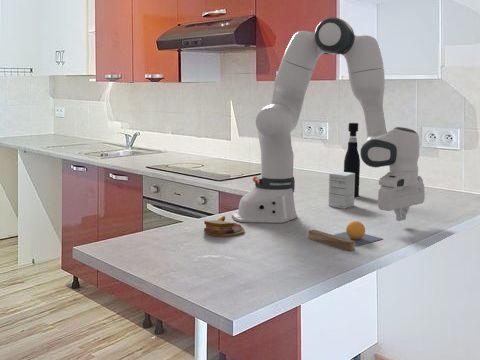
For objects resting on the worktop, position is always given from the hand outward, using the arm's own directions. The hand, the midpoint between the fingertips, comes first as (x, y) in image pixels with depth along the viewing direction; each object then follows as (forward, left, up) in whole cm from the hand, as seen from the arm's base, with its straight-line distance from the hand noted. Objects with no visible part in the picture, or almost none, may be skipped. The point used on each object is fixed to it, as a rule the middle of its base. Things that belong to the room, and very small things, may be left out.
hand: (401, 220), depth 180 cm
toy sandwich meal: (-58, 0, -3) cm, 58 cm away
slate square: (-20, -12, -2) cm, 23 cm away
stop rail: (-29, -17, -2) cm, 33 cm away
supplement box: (-9, +32, -2) cm, 34 cm away
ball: (-20, -13, +1) cm, 23 cm away
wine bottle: (+1, +50, -2) cm, 50 cm away
